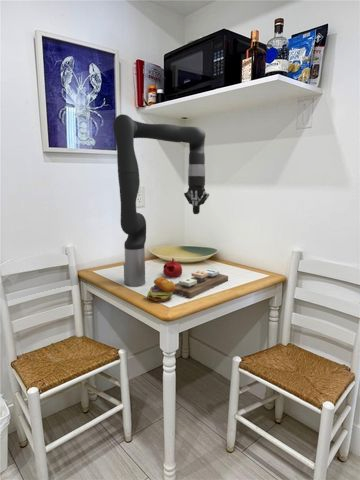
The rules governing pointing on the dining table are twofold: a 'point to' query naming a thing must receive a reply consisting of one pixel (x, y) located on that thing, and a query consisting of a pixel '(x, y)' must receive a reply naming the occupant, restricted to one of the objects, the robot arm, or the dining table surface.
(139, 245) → the robot arm
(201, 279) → the key two
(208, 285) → the key board
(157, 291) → the cheeseburger
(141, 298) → the dining table surface
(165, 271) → the pomegranate
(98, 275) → the dining table surface
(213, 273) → the key three
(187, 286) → the key one
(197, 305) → the dining table surface
